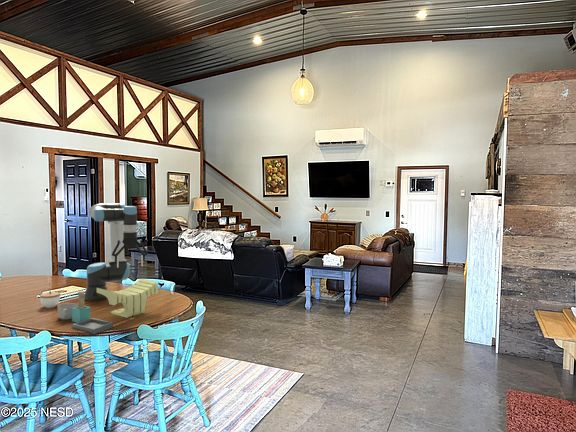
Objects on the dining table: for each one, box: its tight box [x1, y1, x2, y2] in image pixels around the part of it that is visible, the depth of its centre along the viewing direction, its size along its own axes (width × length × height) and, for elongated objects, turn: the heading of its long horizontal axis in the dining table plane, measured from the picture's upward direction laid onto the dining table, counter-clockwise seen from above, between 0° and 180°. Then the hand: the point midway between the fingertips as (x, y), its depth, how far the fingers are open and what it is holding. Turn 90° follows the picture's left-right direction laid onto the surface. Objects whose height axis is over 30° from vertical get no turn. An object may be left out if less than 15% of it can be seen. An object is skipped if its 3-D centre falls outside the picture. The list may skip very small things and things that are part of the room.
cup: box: [71, 305, 91, 323], centre depth 216 cm, size 6×6×8 cm
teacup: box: [57, 302, 78, 321], centre depth 219 cm, size 14×11×8 cm
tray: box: [71, 317, 114, 335], centre depth 207 cm, size 16×12×3 cm
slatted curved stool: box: [97, 278, 159, 318], centre depth 231 cm, size 30×16×18 cm, turn 149°
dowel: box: [77, 290, 85, 309], centre depth 216 cm, size 3×3×16 cm
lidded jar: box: [39, 291, 61, 309], centre depth 243 cm, size 11×11×9 cm
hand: (130, 266), depth 236 cm, fingers open, 13 cm apart
